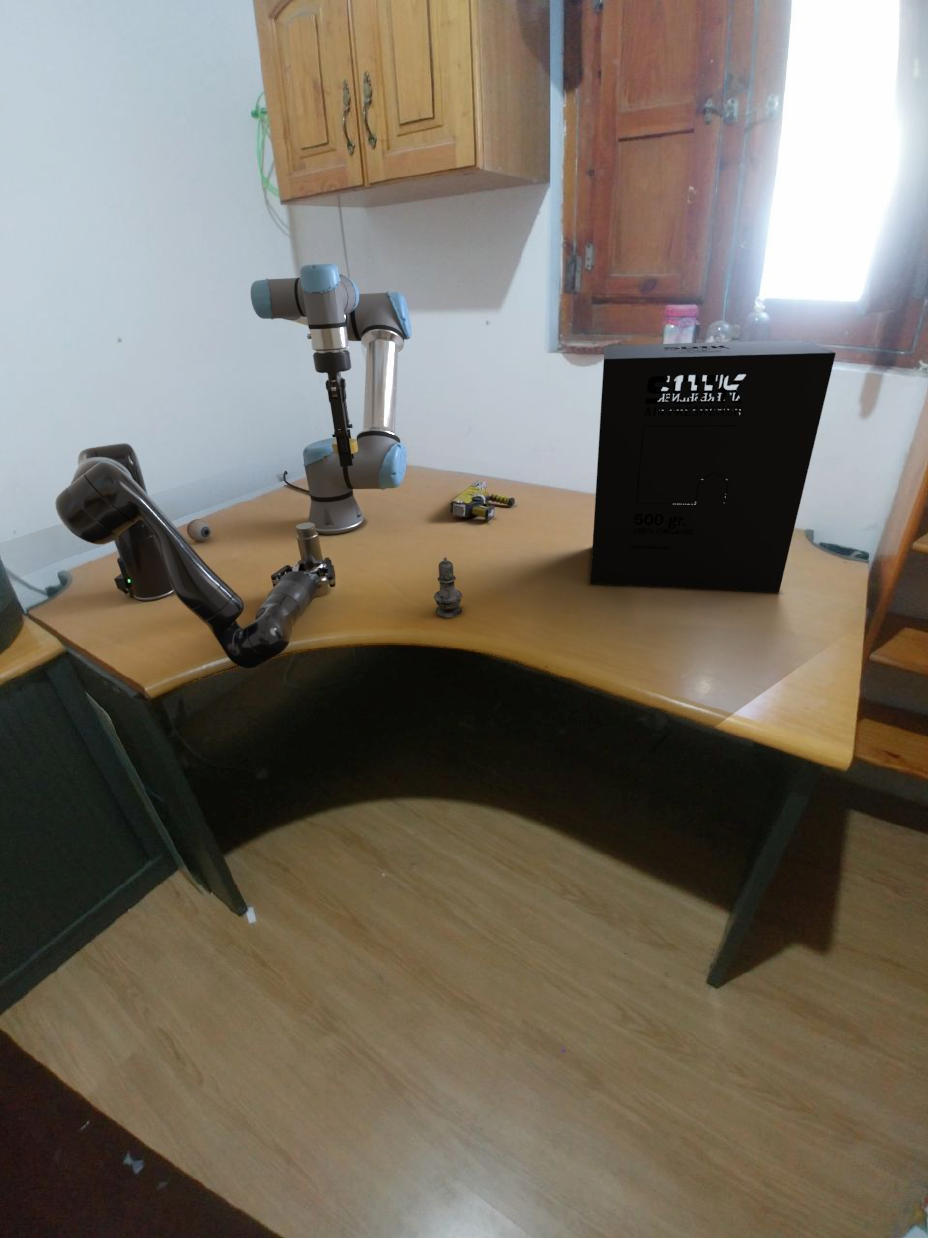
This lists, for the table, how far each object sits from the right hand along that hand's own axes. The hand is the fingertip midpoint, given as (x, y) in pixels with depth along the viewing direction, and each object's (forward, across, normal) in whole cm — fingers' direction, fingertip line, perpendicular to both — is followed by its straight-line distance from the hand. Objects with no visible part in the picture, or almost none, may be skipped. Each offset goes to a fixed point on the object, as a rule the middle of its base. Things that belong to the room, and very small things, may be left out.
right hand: (347, 461), depth 136 cm
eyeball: (+24, -22, -44) cm, 55 cm away
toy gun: (+24, -28, +36) cm, 51 cm away
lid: (-4, 0, 0) cm, 4 cm away
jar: (+24, +16, -9) cm, 30 cm away
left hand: (+18, +13, -9) cm, 24 cm away
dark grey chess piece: (+24, +31, +19) cm, 43 cm away
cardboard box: (+24, +22, +71) cm, 78 cm away
